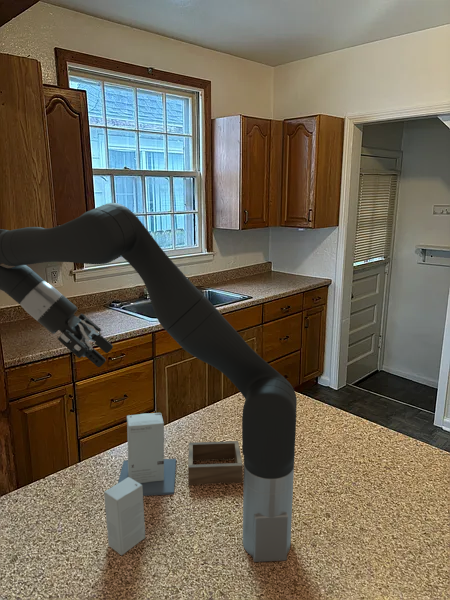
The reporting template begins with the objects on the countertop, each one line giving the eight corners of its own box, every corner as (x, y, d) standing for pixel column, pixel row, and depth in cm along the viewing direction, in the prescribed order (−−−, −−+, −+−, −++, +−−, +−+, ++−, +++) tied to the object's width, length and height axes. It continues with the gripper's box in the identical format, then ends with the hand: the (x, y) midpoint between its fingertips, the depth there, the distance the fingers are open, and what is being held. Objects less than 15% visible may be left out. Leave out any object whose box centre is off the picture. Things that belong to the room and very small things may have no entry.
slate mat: (173, 494, 101) (173, 492, 101) (115, 496, 100) (114, 494, 100) (176, 460, 113) (176, 458, 113) (123, 462, 112) (123, 460, 112)
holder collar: (242, 482, 105) (242, 465, 104) (188, 484, 104) (188, 467, 103) (238, 456, 115) (238, 440, 114) (189, 458, 114) (188, 442, 113)
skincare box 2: (129, 486, 102) (126, 427, 99) (128, 470, 108) (124, 414, 105) (166, 480, 104) (164, 422, 101) (162, 465, 110) (161, 410, 107)
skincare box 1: (131, 528, 91) (129, 475, 88) (146, 538, 88) (143, 484, 85) (106, 545, 86) (103, 491, 83) (120, 557, 83) (117, 501, 81)
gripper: (50, 302, 88) (112, 356, 92) (69, 287, 102) (123, 334, 105) (25, 329, 89) (88, 381, 92) (47, 310, 103) (101, 356, 106)
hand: (106, 356), depth 99 cm, fingers open, 8 cm apart
